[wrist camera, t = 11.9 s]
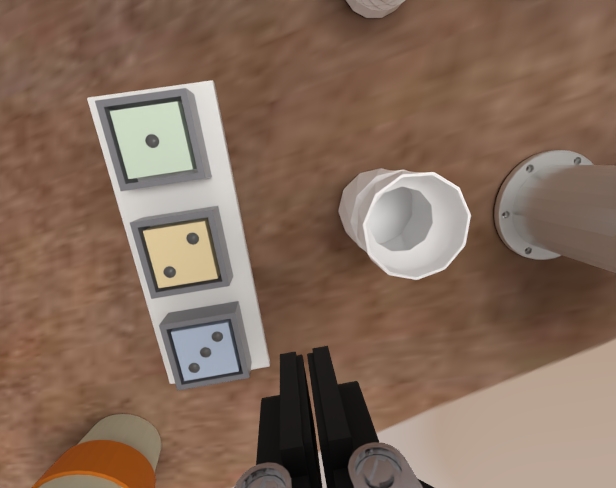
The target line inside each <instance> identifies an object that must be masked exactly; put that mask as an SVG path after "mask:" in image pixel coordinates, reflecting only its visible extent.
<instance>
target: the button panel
mask: <svg viewBox="0 0 616 488" xmlns="http://www.w3.org/2000/svg"><path fill="white" fill-rule="evenodd" d="M87 99H88V103H89V106H90V110H91V113H92V117H93V120H94V123H95V127H96V130H97V134H98V137H99V141H100V144H101V148H102V151H103V154H104V158H105V161H106V165H107V168H108V172H109V175H110V179H111V182H112V185H113V189H114V192H115V196H116V199H117V203H118V206H119V210H120V213H121V216H122V220H123V223H124V227H125V230H126V234H127V237H128V241H129V244H130V248H131V251H132V254H133V258H134V261H135V265H136V268H137V272H138V275H139V279H140V282H141V285H142V289H143V292H144V296H145V299H146V303H147V306H148V310H149V313H150V316H151V320H152V323H153V327H154V330H155V334H156V337H157V341H158V344H159V347H160V351H161V354H162V358H163V361H164V365H165V368H166V372H167V375H168V378H169V382H170V384H173V383H175V384H176V387H177V391H178V390H183V389H189V388H195V387H200V386H206V385H211V384H217V383H223V382H228V381H234V380H239V379H245V378H250V371H251V370H252V369H258V368H263V367H269V366H270V359H269V354H268V349H267V344H266V339H265V334H264V329H263V324H262V319H261V314H260V309H259V304H258V299H257V293H256V288H255V283H254V278H253V273H252V268H251V263H250V258H249V253H248V248H247V243H246V238H245V233H244V228H243V223H242V218H241V213H240V208H239V203H238V198H237V193H236V188H235V183H234V178H233V173H232V168H231V163H230V158H229V153H228V148H227V143H226V138H225V133H224V128H223V123H222V118H221V113H220V108H219V103H218V98H217V93H216V88H215V83H214V82H213V80H212V81H205V82H198V83H190V84H183V85H176V86H169V87H162V88H155V89H148V90H140V91H133V92H126V93H119V94H112V95H105V96H98V97H91V98H87ZM170 102H179V103H181V104H183V108H184V113H185V117H186V122H187V126H188V130H189V135H190V139H191V144H192V148H193V153H194V157H195V162H196V166H197V169H194V170H188V171H181V172H174V173H168V174H161V175H155V176H148V177H141V178H134V179H128V176H127V172H126V168H125V165H124V161H123V158H122V154H121V150H120V147H119V143H118V139H117V136H116V132H115V129H114V125H113V121H112V118H111V114H110V111H114V110H121V109H128V108H135V107H142V106H149V105H156V104H163V103H170ZM207 217H208V220H209V224H210V228H211V233H212V237H213V242H214V246H215V251H216V255H217V260H218V264H219V268H220V275H219V277H218V279H212V280H206V281H200V282H194V283H187V284H181V285H175V286H169V287H163V288H158V284H157V280H156V277H155V273H154V270H153V266H152V262H151V259H150V255H149V252H148V248H147V244H146V241H145V237H144V233H143V231H144V230H146V229H148V228H150V227H152V226H156V225H163V224H169V223H176V222H182V221H188V220H195V219H201V218H207ZM225 319H231V322H232V326H233V331H234V335H235V340H236V344H237V349H238V353H239V358H240V362H241V363H240V368H239V371H238V372H233V373H227V374H221V375H216V376H210V377H204V378H199V379H193V380H188V381H184V378H183V374H182V370H181V367H180V363H179V360H178V356H177V352H176V349H175V345H174V342H173V338H172V334H171V331H172V330H173V328H178V327H184V326H190V325H196V324H202V323H207V322H213V321H219V320H225Z"/></svg>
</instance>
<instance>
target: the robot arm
mask: <svg viewBox="0 0 616 488" xmlns="http://www.w3.org/2000/svg"><path fill="white" fill-rule="evenodd" d="M494 218H495V224H496V229H497V231H498V234H499V236H500V238H501V239H502V241H503V242H504V244H505V245H506V246H507V247H508V248H509V249H510V250H512V251H514V252H515V253H517V254H519V255H521V256H524V257H526V258H531V259H535V260H547V259H553V258H556V257H559V256H562V255H563V256H566V257H569V258H572V259H575V260H577V261H580V262H583V263H586V264H589V265H592V266H595V267H598V268H601V269H604V270H607V271H610V272H613V273H616V165H594V164H593V163H592V162H591V161H590V160H589V159H587V158H586V157H584V156H583V155H581V154H578V153H576V152H573V151H567V150H552V151H545V152H541V153H538V154H536V155H533V156H531V157H529V158H528V159H526V160H524V161H523V162H521V163H520V164H519V165H518V166H517V167H515V168H514V169H513V171H512V172H511V173H510V174H509V175H508V176H507V178H506V180H505V181H504V183H503V184H502V186H501V188H500V191H499V193H498V196H497V199H496V204H495V214H494ZM307 357H308V364H309V371H310V378H311V386H312V393H313V400H314V407H315V414H316V422H317V429H318V436H319V443H320V449H321V455H322V461H323V466H324V473H325V478H326V484H327V488H434V487H432V486H430V485H428V484H426V483H424V482H423V481H421V480H419V479H417V477H416V475H415V474H414V472H413V470H412V469H411V467H410V466H409V464H408V463H407V461H406V459H405V457H404V456H403V455H402V454H401V453H400V452H399V451H398V450H397V449H396V448H394V447H393V446H391V445H388V444H385V443H379V440H378V437H377V434H376V432H375V429H374V426H373V423H372V420H371V417H370V414H369V412H368V409H367V406H366V403H365V400H364V397H363V395H362V392H361V389H360V386H359V383H358V382H357V381H354V382H349V383H343V384H337V380H336V376H335V373H334V369H333V365H332V361H331V357H330V353H329V349H328V346H324V347H319V348H313V353H309V354H307ZM234 488H322V481H321V473H320V466H319V458H318V450H317V442H316V434H315V427H314V420H313V414H312V409H311V403H310V397H309V391H308V385H307V379H306V373H305V368H304V362H303V356H302V355H298V356H296V352H290V353H284V354H280V395H277V396H271V397H266V398H262V400H261V410H260V423H259V435H258V448H257V461H256V466H254V467H252V468H250V469H249V470H248V471H246V472H245V473H244V474H243V475H242V476H241V477H240V479H239V480H238V481H237V483H236V485H235V487H234Z"/></svg>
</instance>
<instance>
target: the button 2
mask: <svg viewBox="0 0 616 488" xmlns="http://www.w3.org/2000/svg"><path fill="white" fill-rule="evenodd" d="M143 233H144V237H145V241H146V244H147V248H148V252H149V255H150V259H151V262H152V266H153V270H154V273H155V277H156V280H157V284H158V288H163V287H169V286H175V285H181V284H187V283H194V282H200V281H206V280H212V279H218V277H219V275H220V268H219V264H218V260H217V255H216V251H215V246H214V242H213V237H212V233H211V228H210V224H209V220H208V217H207V218H201V219H195V220H188V221H182V222H176V223H169V224H163V225H156V226H152V227H150V228H148V229H146V230H144V231H143Z"/></svg>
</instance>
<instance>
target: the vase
mask: <svg viewBox="0 0 616 488" xmlns="http://www.w3.org/2000/svg"><path fill="white" fill-rule="evenodd" d="M338 212H339V215H340V218H341V221H342V223H343V226H344V229H345V232H346V233H347V234H348V235H349V236H350V237H351V238H352V239H353V241H354V242H356V243H357V244H358V246H359V247H360V248H362V249H363V250H364V251H366V252H367V254H368V255H369V257H370V259H371V260H372V261H373V262H374V263H375V264H376V265H377V266H379V267H380V268H381V269H382V270H383V271H384V272H386V273H387V274H388V275H392V276H398V277H403V278H409V279H414V280H418V279H421V278H424V277H426V276H429V275H431V274H434V273H437V272H439V271H442V270H444V269H446V268H447V267H448V265H449V264H450V263H451V262H452V261H453V259H454V258H455V257H456V256H457V255H458V254H459V252H460V251H461V250H462V249H463V248H464V246H465V245H466V239H467V234H468V228H469V223H470V217H471V214H470V212H469V209H468V207H467V204H466V202H465V200H464V197H463V195H462V193H461V190H460V188H459V187H458V186H456V185H454V184H453V183H451V182H449V181H448V180H446V179H445V178H443V177H441V176H440V175H438V174H436V173H435V172H428V173H416V172H410V171H406V170H397V171H391V170H385V169H383V168H380V169H376V170H372V171H367V172H363V173H360V174H359V175H358V176H357V177H356V178H355V179H354V180H353V181H351V182H350V183H349V184H348V185H347V186H346V187H345V188H344V190H343V194H342V198H341V202H340V206H339V210H338Z"/></svg>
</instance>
